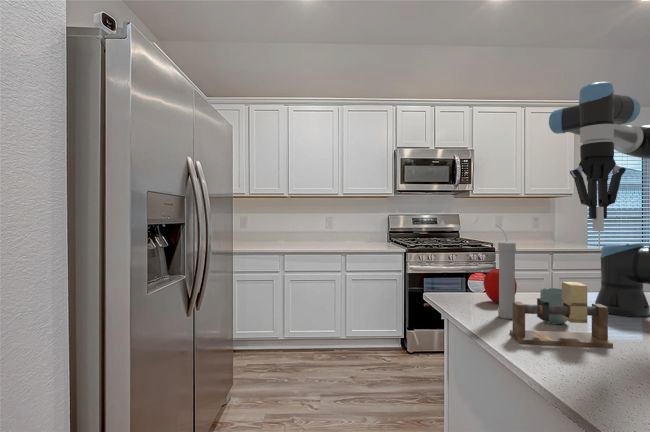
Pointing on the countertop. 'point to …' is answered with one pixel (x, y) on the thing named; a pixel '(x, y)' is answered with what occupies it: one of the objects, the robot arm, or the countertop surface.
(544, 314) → the dark grey square ring
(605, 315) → the rail
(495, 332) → the countertop surface
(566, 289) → the sleeve
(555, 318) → the cup
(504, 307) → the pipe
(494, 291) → the tomato
